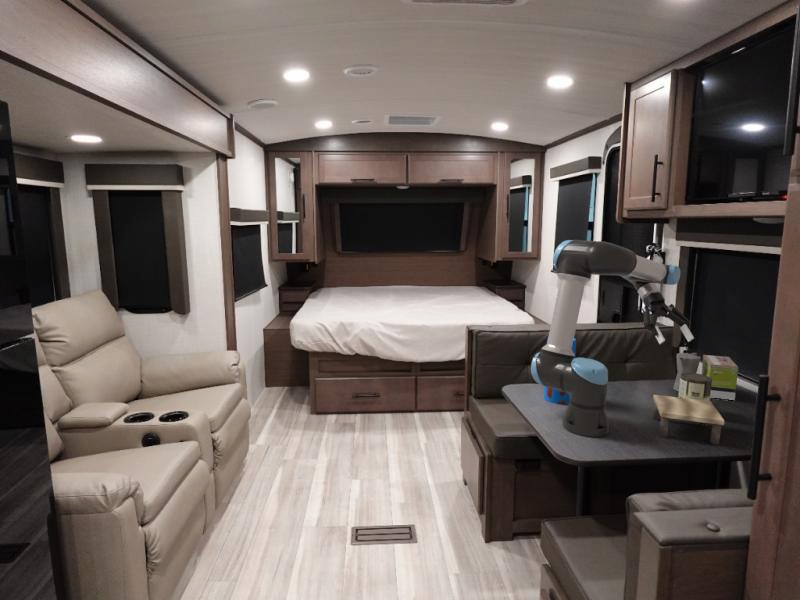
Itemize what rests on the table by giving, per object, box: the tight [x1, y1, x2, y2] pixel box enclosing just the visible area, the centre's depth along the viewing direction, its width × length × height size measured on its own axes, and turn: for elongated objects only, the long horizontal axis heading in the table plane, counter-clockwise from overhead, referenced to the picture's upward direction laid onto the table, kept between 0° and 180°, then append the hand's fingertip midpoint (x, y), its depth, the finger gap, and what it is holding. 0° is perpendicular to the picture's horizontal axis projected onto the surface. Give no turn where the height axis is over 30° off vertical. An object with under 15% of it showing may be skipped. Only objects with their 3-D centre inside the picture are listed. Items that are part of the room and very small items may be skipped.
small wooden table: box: [652, 394, 725, 446], centre depth 170 cm, size 18×18×8 cm
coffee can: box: [678, 373, 712, 401], centre depth 185 cm, size 10×10×14 cm
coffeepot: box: [672, 348, 702, 393], centre depth 210 cm, size 15×9×18 cm, turn 125°
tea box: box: [700, 354, 739, 401], centre depth 206 cm, size 15×10×15 cm
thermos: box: [543, 337, 577, 405], centre depth 196 cm, size 11×11×25 cm
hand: (677, 341), depth 193 cm, fingers open, 13 cm apart
